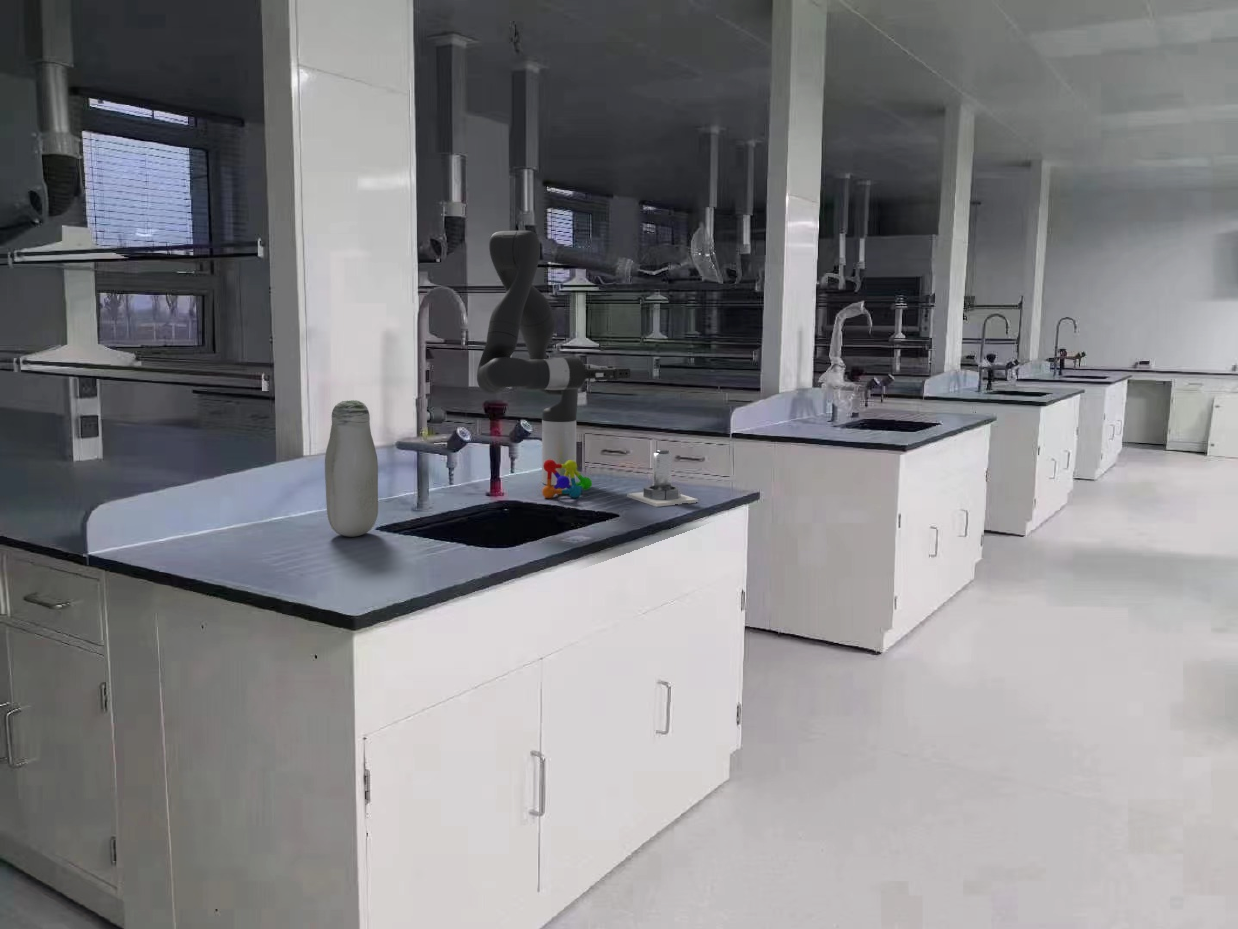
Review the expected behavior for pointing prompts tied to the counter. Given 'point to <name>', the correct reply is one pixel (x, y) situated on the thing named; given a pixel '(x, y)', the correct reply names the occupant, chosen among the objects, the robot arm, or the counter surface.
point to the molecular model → (564, 480)
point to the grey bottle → (351, 471)
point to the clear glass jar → (662, 470)
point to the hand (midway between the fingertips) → (620, 371)
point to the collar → (662, 493)
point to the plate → (662, 502)
